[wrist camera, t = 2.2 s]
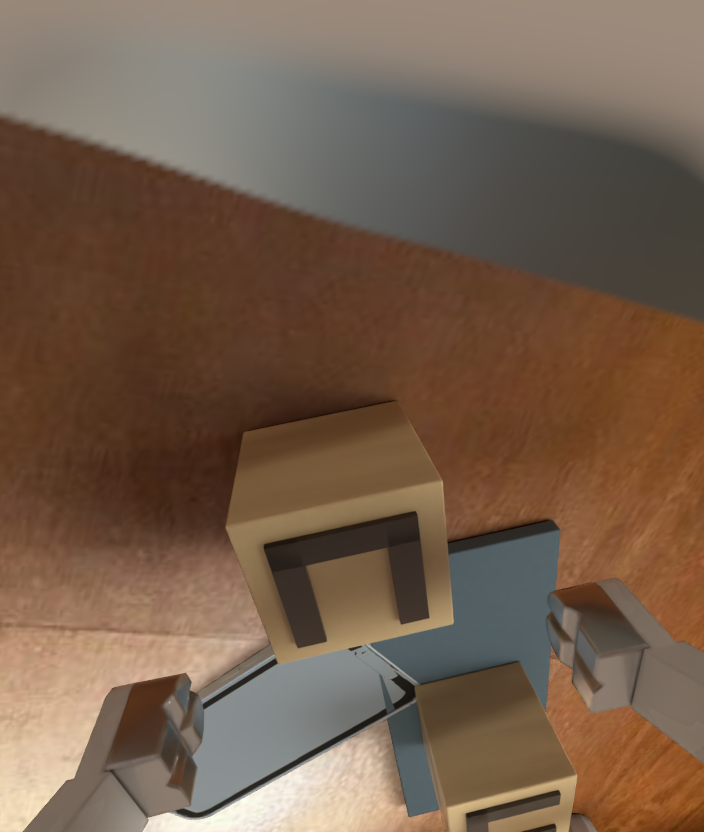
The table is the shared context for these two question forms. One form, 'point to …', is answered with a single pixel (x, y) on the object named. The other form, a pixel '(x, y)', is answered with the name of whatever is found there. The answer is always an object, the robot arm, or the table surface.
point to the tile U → (494, 754)
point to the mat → (476, 634)
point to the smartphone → (286, 718)
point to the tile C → (341, 531)
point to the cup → (580, 824)
